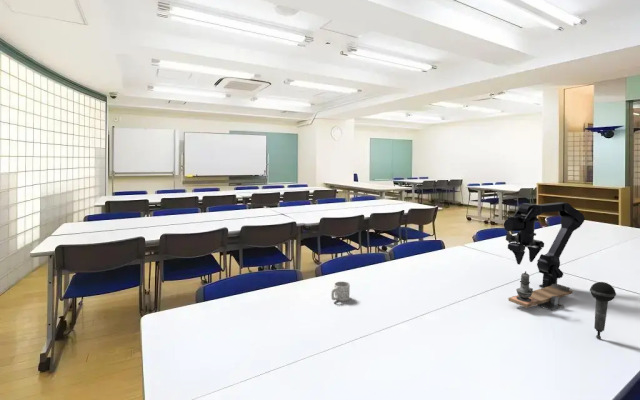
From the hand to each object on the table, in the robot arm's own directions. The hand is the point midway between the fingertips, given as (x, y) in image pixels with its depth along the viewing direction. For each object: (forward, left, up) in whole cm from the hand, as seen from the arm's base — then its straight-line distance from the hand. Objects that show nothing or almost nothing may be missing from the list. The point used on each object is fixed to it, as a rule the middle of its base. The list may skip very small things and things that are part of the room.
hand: (524, 263), depth 159 cm
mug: (+84, -29, -13) cm, 90 cm away
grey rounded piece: (+20, +13, -9) cm, 26 cm away
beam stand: (+8, +13, -13) cm, 20 cm away
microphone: (+21, +40, -13) cm, 47 cm away
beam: (+8, +13, -10) cm, 18 cm away
